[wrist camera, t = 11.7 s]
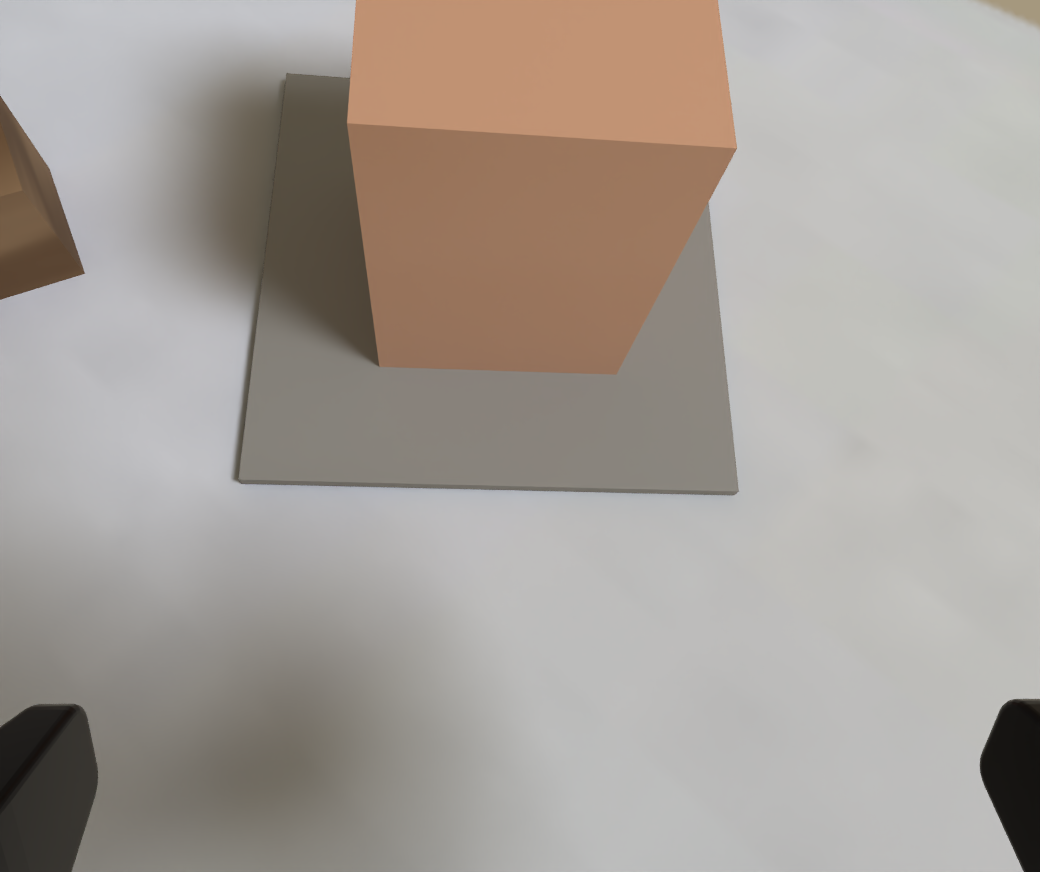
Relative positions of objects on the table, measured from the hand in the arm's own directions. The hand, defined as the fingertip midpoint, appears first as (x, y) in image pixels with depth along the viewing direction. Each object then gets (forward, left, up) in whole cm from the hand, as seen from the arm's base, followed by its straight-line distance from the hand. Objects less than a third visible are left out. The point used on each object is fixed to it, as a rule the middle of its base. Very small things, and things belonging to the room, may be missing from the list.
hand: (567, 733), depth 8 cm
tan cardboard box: (+13, +4, -13) cm, 19 cm away
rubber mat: (+13, +4, -14) cm, 19 cm away
